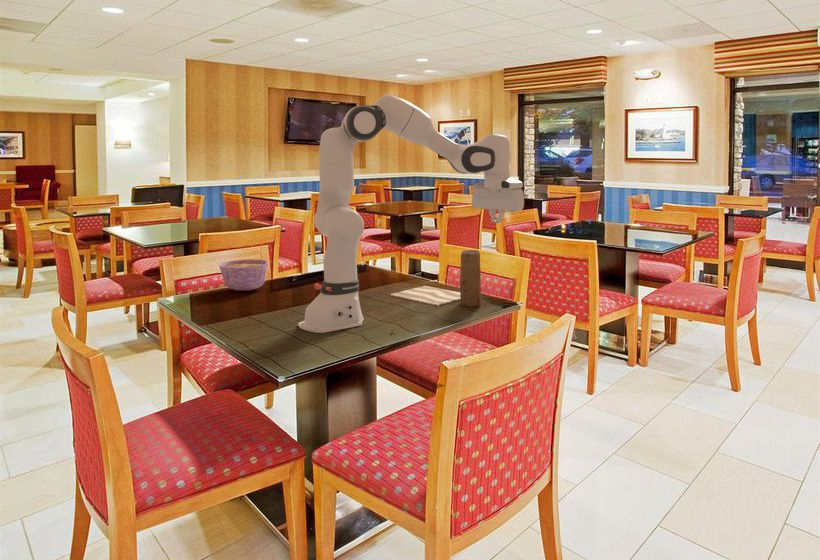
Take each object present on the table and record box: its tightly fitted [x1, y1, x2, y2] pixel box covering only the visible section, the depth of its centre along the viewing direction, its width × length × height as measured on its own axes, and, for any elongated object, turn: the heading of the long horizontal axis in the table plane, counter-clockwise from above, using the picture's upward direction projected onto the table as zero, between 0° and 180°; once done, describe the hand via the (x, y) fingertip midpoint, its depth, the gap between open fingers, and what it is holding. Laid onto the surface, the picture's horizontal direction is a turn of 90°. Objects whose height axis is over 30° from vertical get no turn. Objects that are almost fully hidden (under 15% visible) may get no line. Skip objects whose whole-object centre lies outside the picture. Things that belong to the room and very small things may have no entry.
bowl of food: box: [219, 258, 269, 291], centre depth 259 cm, size 20×20×12 cm
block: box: [459, 249, 482, 308], centre depth 227 cm, size 11×8×20 cm
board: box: [390, 285, 461, 307], centre depth 243 cm, size 20×26×1 cm
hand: (496, 222), depth 214 cm, fingers closed
